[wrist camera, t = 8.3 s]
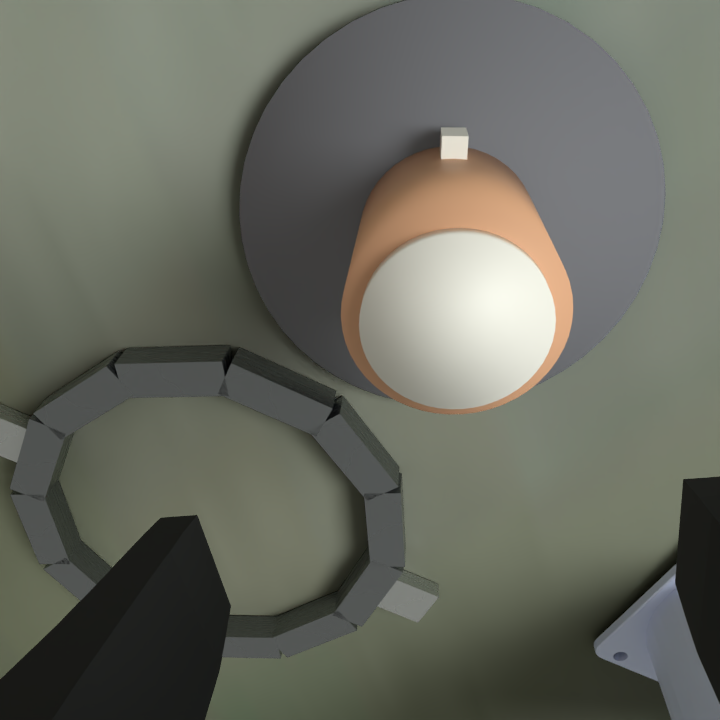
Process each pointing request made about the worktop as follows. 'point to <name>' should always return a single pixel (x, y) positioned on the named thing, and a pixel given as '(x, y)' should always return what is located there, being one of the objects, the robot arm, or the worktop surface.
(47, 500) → the collar
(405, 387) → the pill bottle
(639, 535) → the worktop surface
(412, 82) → the mat
